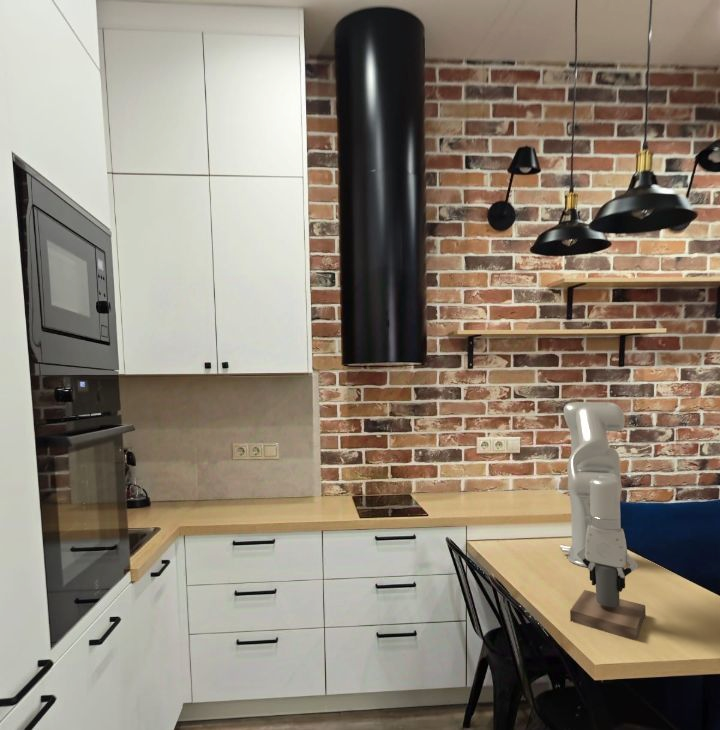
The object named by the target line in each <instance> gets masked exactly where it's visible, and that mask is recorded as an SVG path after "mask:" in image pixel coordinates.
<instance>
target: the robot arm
mask: <svg viewBox="0 0 720 730" xmlns="http://www.w3.org/2000/svg"><path fill="white" fill-rule="evenodd" d="M563 417H564V420H565V423H566V425H567V428H568V430H569V433H570V446H571V447H570V449H571V450H570V452H571V454H570V456H569V457H568V460H567V465H566V467H567V468H566V471H567V480H568V481H567V491H568V495H569V501H570V512H571V513H570V516H571V517H570V519H571V520H570V521H571V545H569V546H568V545H565V544H560V550H561V551H562V553H568V555H567V560H568V561H569V562H571V563H573V564H575V565H577V566H580V567H585V568H587V570H588V571H589V581H591V585H592V586H596V578H595V563H597V564H601V565H606V566H611V567H615V568H617V570H618V573H619V576H618V591H619V593H622V591H623V589H625V588H626V577H627V576H628V575H629V574H631V573H632V572H634V571H635V570H636V569H638V567H639V564H638V563H637V562H636V561H635V560H634V559H633V557H632V556H630V554H629V553H628V548H627V540H626V537H625V536H626V535H625V532H624V528H623V527H621V524H622V523H621V501H620V500H621V496H622V491H623V490H622V489H623V487H622V481H621V477H622V476H621V461H620V455H619V453H618V451H617V450H616V449H615V448H613V447H610V445H609V444H610V443H609V439H608V434H607V432H621V431H622V430H624V428H625V423H626V420H625V419H626V418H625V415H624V412H623V410H622V408H621V407H620V406H619V405H617V404H616V403H614V402H608V401H606V402H605V401H603V402H602V401H601V402H600V401H596V402H595V401H576V402H575V401H574V402H568V403H566V404H565V405H564V406H563ZM627 563H628V564H629V566H627V565H626V564H627ZM626 566H627V567H626ZM625 567H626V568H625Z"/></svg>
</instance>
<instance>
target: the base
mask: <svg viewBox="0 0 720 730" xmlns="http://www.w3.org/2000/svg"><path fill="white" fill-rule="evenodd" d="M619 600H620V605H619V606H618V607H606V606H603V605H601V604H599V603H598V602H597V600H596V591H595V592H594V591H589V590H586V589H584V590H583V591H582V593H581V594H580V595H579V597H578V599H577V600H576V601H575V603H574V604H573V605H572V607H571V608H570V609H569V617H570V618H569V619H570V621H569V622H572V621H573V622H572V623H576V624H578V623H579V625H582V626H585V627H588V628H593V629H595V630H599V631H603V632H606V633H609V634H613V635H616V636H619V637H623V638H626V639H629V640H633V641H635V642H636V641H637V640H638V638H639V635H640V632H641V630H642V626H643V624H644V623H645V619H646V616H647V615H646V613H647V612H646V605H645V604H641V603H637V602H634V601H629V600H625V599H622V598H619Z"/></svg>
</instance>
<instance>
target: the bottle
mask: <svg viewBox="0 0 720 730" xmlns="http://www.w3.org/2000/svg"><path fill="white" fill-rule="evenodd" d="M618 576H619V573H618V570H617V568H615V567H611V566H606V565H601V564H597V563H595V578H596V584H595V593H596V600H597V602H598V603H599V604H601V605H603V606H606V607H618V606H619V605H620V600H619V599H620V592H619V591H618Z"/></svg>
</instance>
